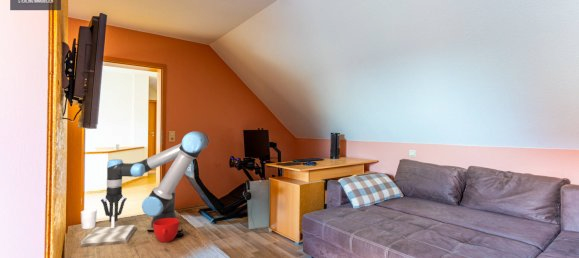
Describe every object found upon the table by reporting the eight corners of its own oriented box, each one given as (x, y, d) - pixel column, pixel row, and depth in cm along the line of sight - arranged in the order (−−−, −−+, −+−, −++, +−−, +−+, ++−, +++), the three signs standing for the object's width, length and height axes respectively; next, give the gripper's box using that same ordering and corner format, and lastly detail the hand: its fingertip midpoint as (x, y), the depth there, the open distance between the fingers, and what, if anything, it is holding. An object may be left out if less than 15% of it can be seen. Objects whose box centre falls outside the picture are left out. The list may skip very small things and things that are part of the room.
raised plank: (134, 227, 173) (134, 224, 173) (130, 233, 163) (130, 230, 163) (95, 230, 167) (95, 227, 167) (89, 236, 157) (89, 233, 157)
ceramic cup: (149, 248, 146) (149, 228, 146) (155, 236, 162) (155, 218, 162) (176, 246, 150) (177, 226, 150) (180, 234, 166) (180, 217, 166)
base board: (136, 229, 174) (136, 224, 174) (127, 243, 153) (127, 238, 153) (94, 232, 167) (94, 227, 167) (78, 247, 146) (78, 242, 146)
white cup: (98, 224, 180) (98, 208, 180) (94, 229, 173) (94, 212, 173) (83, 225, 178) (83, 209, 178) (78, 230, 170) (78, 213, 170)
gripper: (128, 184, 173) (127, 224, 173) (103, 185, 169) (102, 225, 169) (125, 187, 165) (124, 228, 166) (99, 188, 162) (98, 230, 162)
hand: (113, 227), depth 167 cm, fingers closed
